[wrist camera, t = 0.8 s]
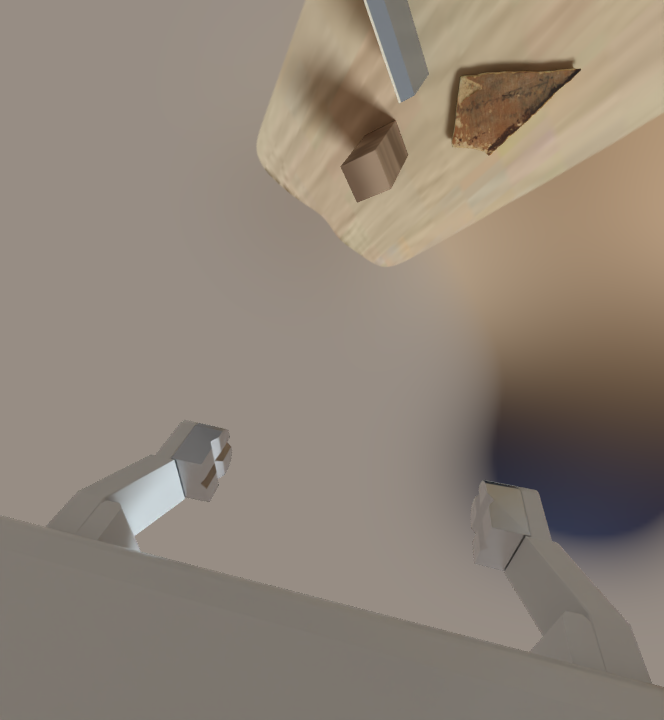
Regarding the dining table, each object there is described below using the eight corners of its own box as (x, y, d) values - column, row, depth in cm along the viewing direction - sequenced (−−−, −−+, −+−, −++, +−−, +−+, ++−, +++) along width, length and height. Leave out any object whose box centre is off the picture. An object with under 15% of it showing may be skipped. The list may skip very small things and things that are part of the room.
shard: (579, 65, 37) (582, 69, 36) (554, 152, 42) (555, 158, 41) (461, 70, 40) (459, 74, 39) (451, 151, 45) (449, 156, 44)
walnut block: (395, 120, 44) (375, 149, 38) (408, 154, 46) (390, 188, 40) (364, 135, 46) (340, 166, 40) (378, 168, 49) (357, 202, 42)
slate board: (401, -21, 36) (379, -16, 30) (428, 73, 40) (414, 95, 35) (386, -11, 37) (362, -3, 31) (415, 81, 41) (399, 103, 35)
